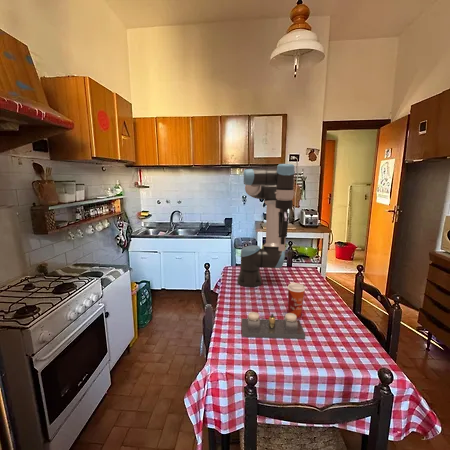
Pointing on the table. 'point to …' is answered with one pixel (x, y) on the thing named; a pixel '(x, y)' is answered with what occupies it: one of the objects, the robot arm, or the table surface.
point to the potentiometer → (272, 321)
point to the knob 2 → (291, 317)
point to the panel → (272, 329)
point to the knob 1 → (253, 316)
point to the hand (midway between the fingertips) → (281, 250)
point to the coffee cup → (295, 298)
